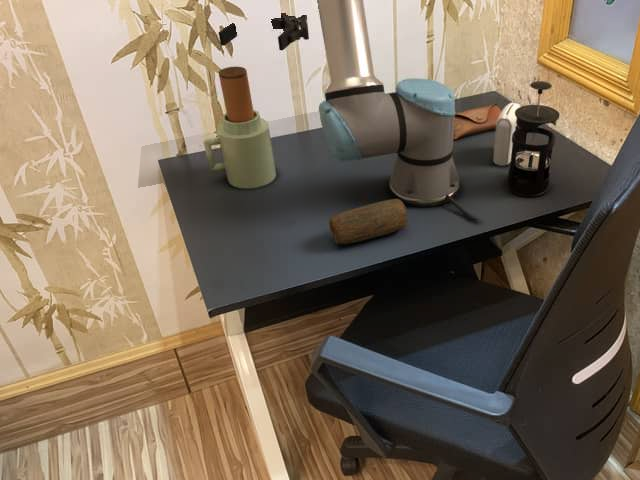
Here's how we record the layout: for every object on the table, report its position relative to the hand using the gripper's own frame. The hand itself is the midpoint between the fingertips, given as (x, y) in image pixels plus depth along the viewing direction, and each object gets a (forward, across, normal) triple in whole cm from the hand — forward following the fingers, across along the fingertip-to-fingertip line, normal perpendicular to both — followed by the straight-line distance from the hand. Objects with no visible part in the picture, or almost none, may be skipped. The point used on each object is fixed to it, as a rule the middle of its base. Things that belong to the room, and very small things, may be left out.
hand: (250, 41), depth 132 cm
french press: (0, -61, -27) cm, 67 cm away
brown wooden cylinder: (+27, -33, -27) cm, 50 cm away
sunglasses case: (-27, -46, -27) cm, 60 cm away
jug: (+11, +1, -27) cm, 29 cm away
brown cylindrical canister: (+10, 0, -15) cm, 18 cm away
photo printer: (-13, -55, -27) cm, 63 cm away
